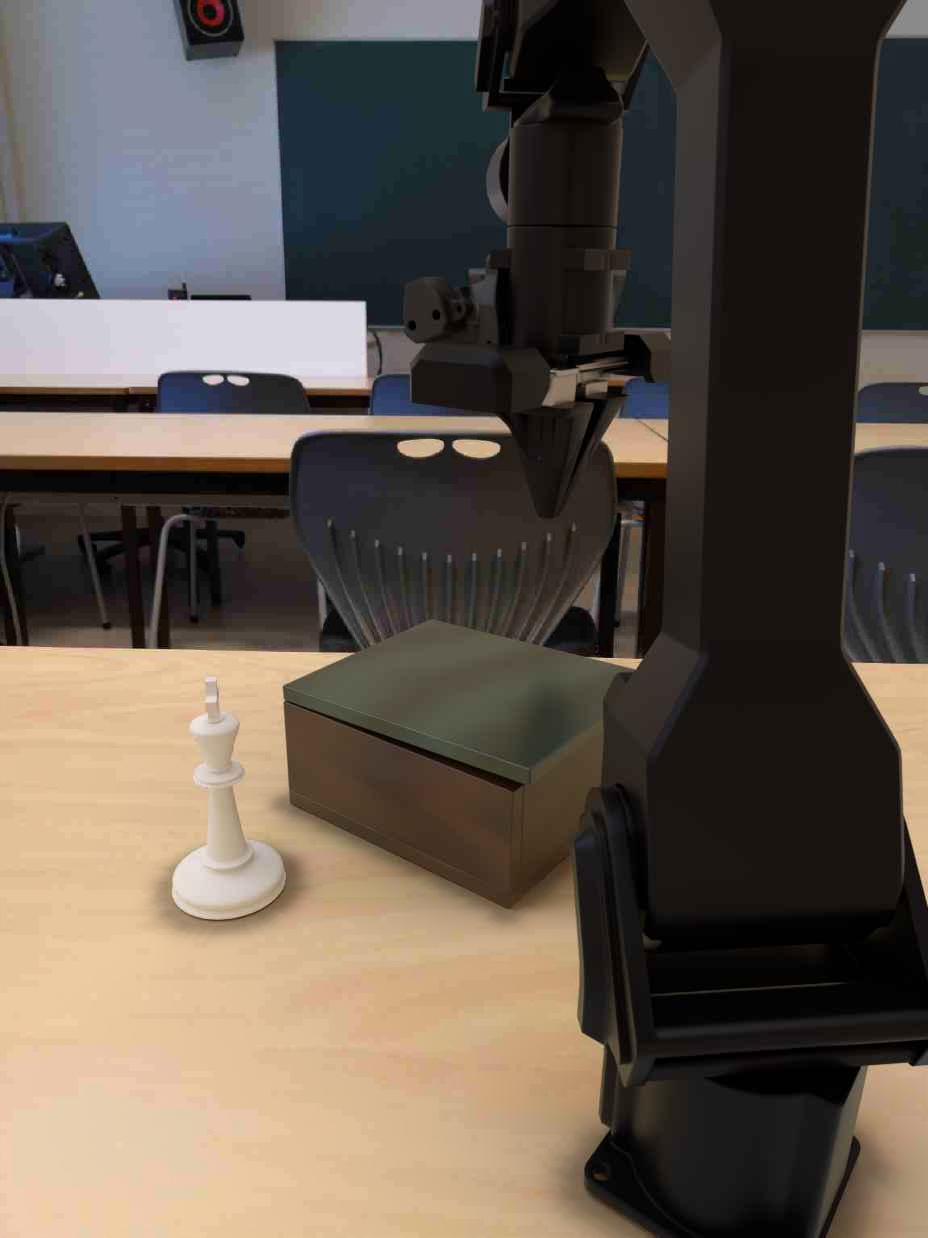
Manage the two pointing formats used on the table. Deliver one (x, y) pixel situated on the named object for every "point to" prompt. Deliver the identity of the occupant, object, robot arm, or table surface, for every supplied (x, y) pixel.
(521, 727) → the box lid
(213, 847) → the chess piece
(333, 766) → the wooden box
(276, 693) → the table surface
